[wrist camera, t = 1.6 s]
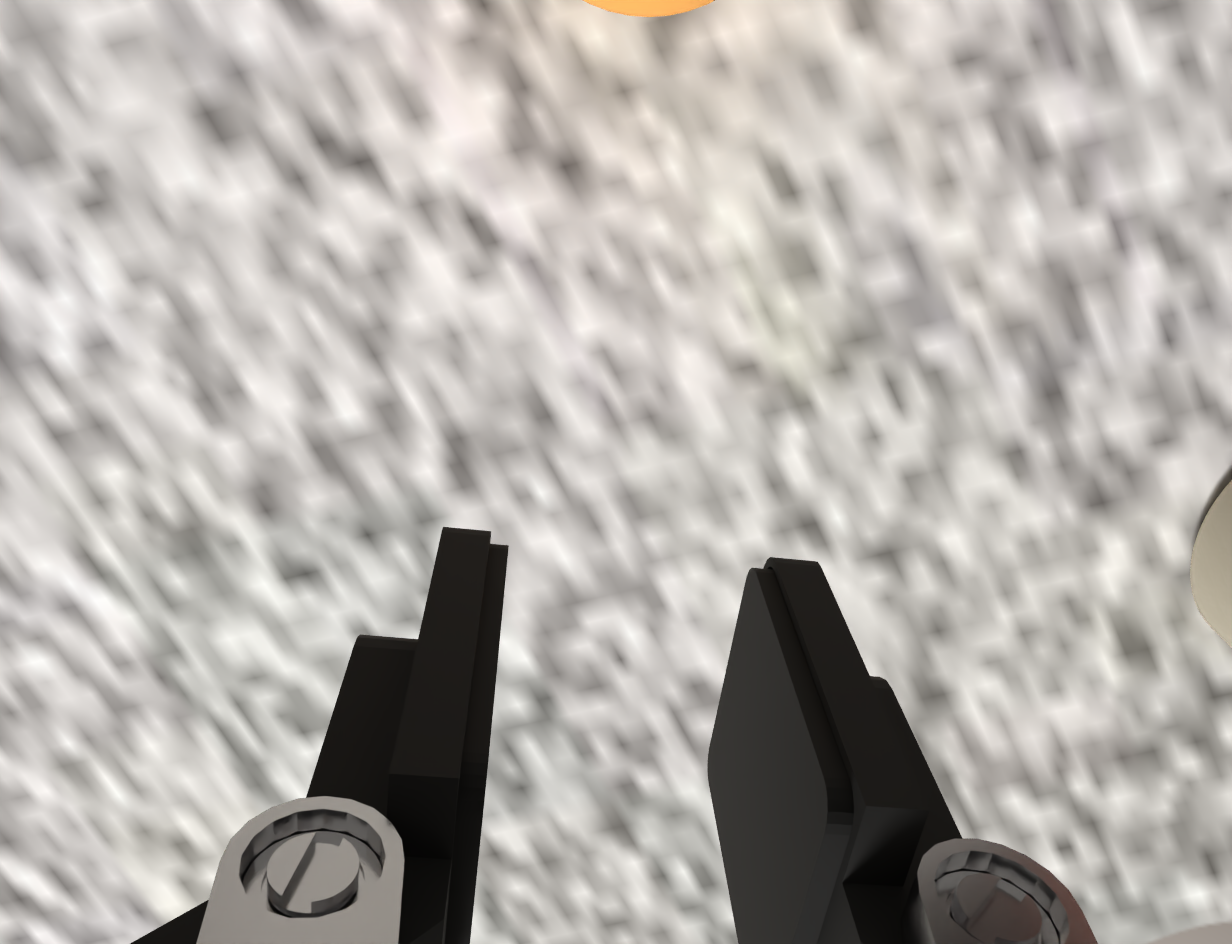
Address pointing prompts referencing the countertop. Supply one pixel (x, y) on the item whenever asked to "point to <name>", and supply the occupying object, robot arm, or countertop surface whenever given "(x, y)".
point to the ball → (648, 6)
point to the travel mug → (1215, 566)
